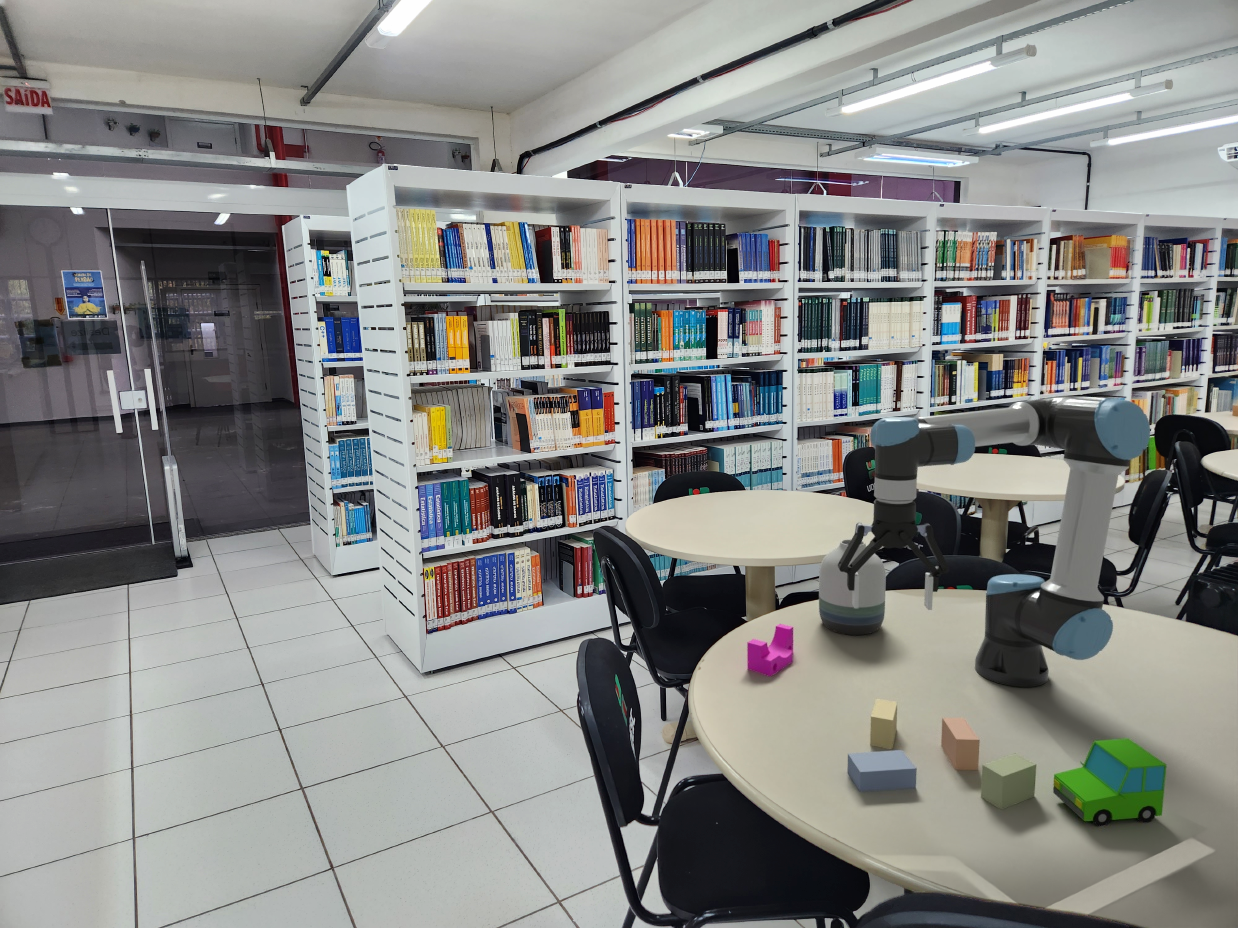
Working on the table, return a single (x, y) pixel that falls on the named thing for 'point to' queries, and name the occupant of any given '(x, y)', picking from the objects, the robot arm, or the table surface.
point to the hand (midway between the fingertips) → (891, 606)
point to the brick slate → (881, 770)
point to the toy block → (771, 652)
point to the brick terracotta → (960, 744)
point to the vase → (838, 597)
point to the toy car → (1114, 783)
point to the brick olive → (1008, 780)
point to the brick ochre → (883, 723)
